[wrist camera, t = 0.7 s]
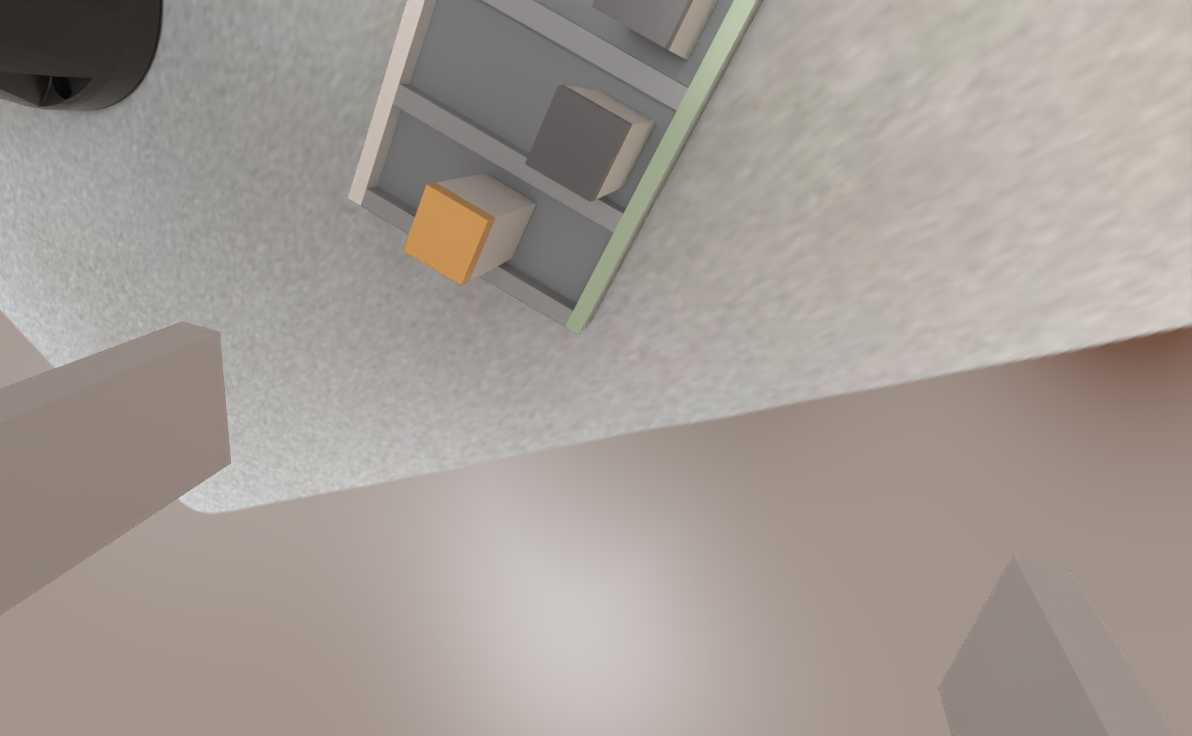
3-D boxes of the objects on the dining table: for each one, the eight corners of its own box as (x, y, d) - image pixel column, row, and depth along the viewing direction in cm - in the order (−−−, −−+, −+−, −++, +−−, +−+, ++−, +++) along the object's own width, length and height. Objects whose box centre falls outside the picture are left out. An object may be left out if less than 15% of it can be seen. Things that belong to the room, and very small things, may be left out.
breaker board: (372, 193, 35) (347, 198, 33) (493, -187, 27) (470, -210, 25) (589, 322, 35) (578, 335, 33) (778, -30, 27) (778, -41, 25)
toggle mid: (569, 155, 30) (524, 164, 25) (599, 89, 29) (558, 84, 24) (623, 186, 30) (590, 202, 25) (656, 122, 29) (627, 124, 24)
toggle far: (462, 229, 33) (402, 250, 28) (485, 173, 32) (426, 184, 27) (511, 258, 33) (461, 285, 28) (536, 203, 32) (488, 220, 26)
